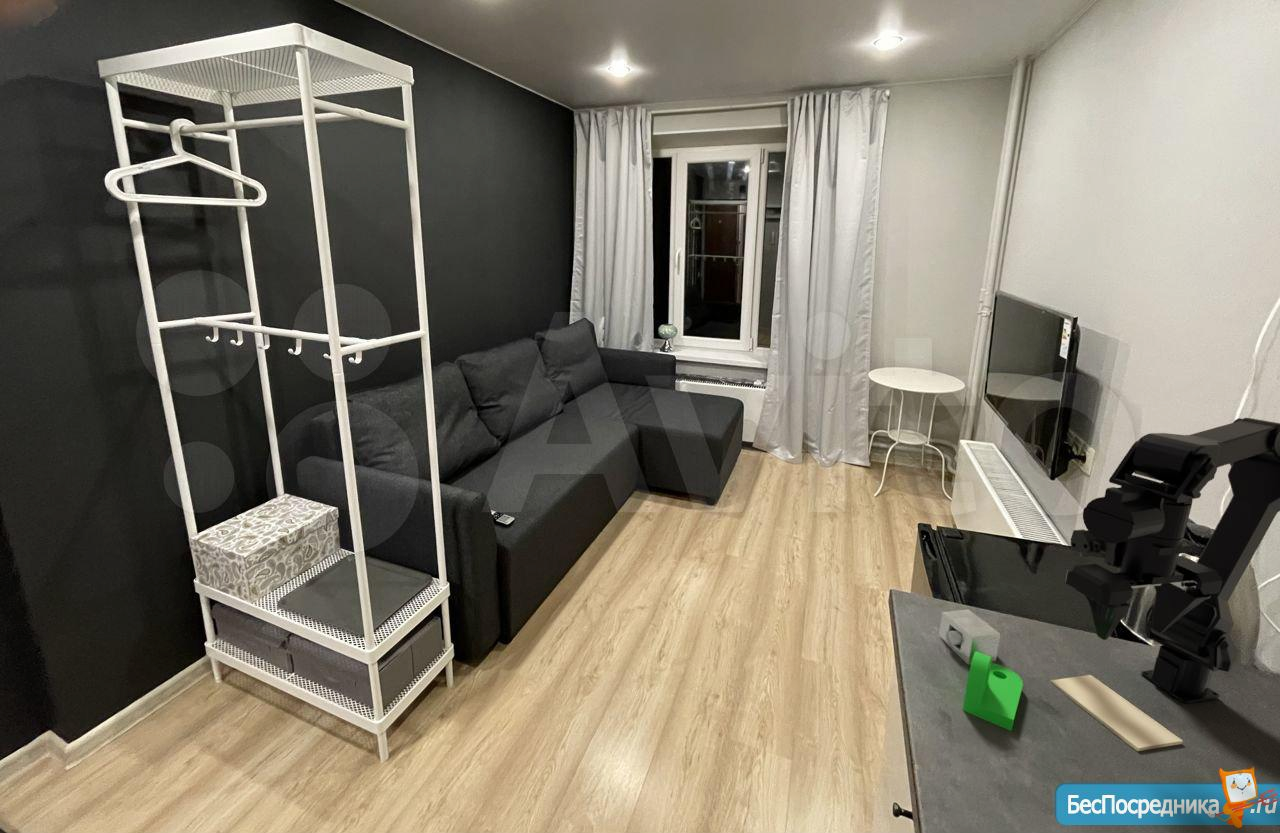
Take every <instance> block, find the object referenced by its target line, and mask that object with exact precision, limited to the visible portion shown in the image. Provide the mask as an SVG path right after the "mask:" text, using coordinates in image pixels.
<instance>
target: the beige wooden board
mask: <svg viewBox="0 0 1280 833" xmlns="http://www.w3.org/2000/svg"><path fill="white" fill-rule="evenodd" d="M1050 683H1052V684H1053V685H1054V686H1055V687H1056V688H1057V689H1058V690H1060V691H1061V692H1062V693H1063V694H1064V695H1065V696H1066V697H1068V698H1069V699H1070V700H1071V701H1073V702H1074V703H1075V704H1076V705H1077V706H1079V707H1080V708H1082V709H1083V711H1085V712H1086V713H1088V714H1089V715H1090V716H1091V717H1092V718H1094V719H1095V720H1096V721H1098V722H1099V723H1101V724H1102V725H1103V726H1104V727H1105V728H1107V729H1108V730H1109V731H1111V732H1112V733H1113V734H1115V735H1116V736H1117V737H1118V738H1120V739H1121V740H1122V741H1123V742H1125V743H1126V744H1127V745H1128V746H1130V747H1131V748H1132V749H1134V750H1135V751H1137V752H1141V751H1147V750H1152V749H1153V750H1155V749H1160V748H1166V747H1171V746H1178V745H1182V744H1183V742H1184V740H1183V739H1181V738H1180V737H1179V736H1177V735H1176V734H1174V733H1173V732H1172V731H1170V730H1168V729H1167V728H1165V727H1164V726H1163V725H1162V724H1160V723H1159V722H1157V721H1156V720H1155V719H1154V718H1152V717H1150V716H1149V715H1148V714H1146V713H1145V712H1143V711H1142V710H1140V709H1139V708H1138V707H1136V706H1135V705H1133V704H1132V703H1131V702H1129V701H1128V700H1126V699H1125V698H1124V697H1122V696H1121V695H1120V694H1119V693H1116V692H1115V691H1114V690H1112V688H1110V687H1108V686H1107V685H1105V683H1102V681H1100V680H1099V679H1098V678H1096V677H1094V676H1093V675H1091V674H1087V675H1081V676H1080V675H1079V676H1074V677H1073V676H1071V677H1065V678H1059V679H1051V680H1050Z"/></svg>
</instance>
